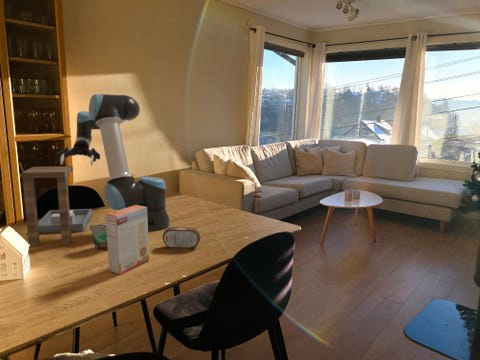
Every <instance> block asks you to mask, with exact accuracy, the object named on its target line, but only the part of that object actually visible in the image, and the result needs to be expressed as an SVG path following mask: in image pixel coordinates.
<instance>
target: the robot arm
mask: <svg viewBox="0 0 480 360" xmlns="http://www.w3.org/2000/svg"><path fill="white" fill-rule="evenodd" d="M89 99H90V100H89V103H88V111H82V110H81V111H78V112H77V114H76V138H75V142H74V143H73V147H71V148H70V147H69V146H66V147H65V148H63V149H62V150H60V151H58V152H56V153H55V155H56V158H57V159H58V160H59V161H60V166H61V165H63V164H64V161H65V159H66V158H69V157H72V156H74V157H75V156H78V155H79V156H85V157H88V158H90V166H93V165H94V163H95V162H96V161H97V160H101V154H100V153H99V152H98V151H97V150H96V149H95V147H92V148H91V149H90V146H91V142H92V141H93V135H92V131H93V130H99V131H100V135H101V139H102V145H103V149H104V156H105V160H106V161H105V162H106V164H107V169H108V170H107V171H108V174H109V178H108V180H107V181H106V184H105V185H104V187H103V191H104V193H103V194H104V198H105V202H106V203H107V205H108V207H109V208H110V209H111V210H114V211H118V210H121V209H124V208H127V207H131V206H134V205H140V206H144V207H147V221H148V231H159V230H164V229H168V228H169V226H170V224H171V223H170V221H171V220H170V217H169V215H168V213H167V209H166V208H167V206H166V204H167V203H166V202H167V201H166V190H167V188H166V182H165V180H164V179H163V178H160V177H155V176H140V177H139V179H138V181H136V180H135V177H134V176H133V175H132V174H131V173H130V169H129V165H128V159H127V155H126V150H125V146H124V145H125V144H124V141H123V136H122V131H121V125H122V123H124V122H126V121H128V122H129V121H132V120H135V119H136V118H138V116H139V115H140V110H141V108H140V104H139V103H138V102H137V100H136V99H135V98H133V97H132V96H129V95H127V94H103V93H101V94H99V93H95V94H93V95H92V96H91V97H90V98H89Z"/></svg>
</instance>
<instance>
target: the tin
mask: <svg viewBox="0 0 480 360" xmlns="http://www.w3.org/2000/svg"><path fill="white" fill-rule="evenodd" d="M200 240H201V234H200V232H199V231H198V230H197V229H196V228H194V227H183V226H171V227H167V228H165V230H164V232H163V235H162V241H163V243H164V245H165V246H166V247H168V248H171V249H193V248H196V247H197V246H198V245H199V244H200V243H199V242H200Z"/></svg>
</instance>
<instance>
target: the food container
mask: <svg viewBox="0 0 480 360" xmlns="http://www.w3.org/2000/svg"><path fill="white" fill-rule="evenodd" d="M89 230H90V231H91V234H92V240H93V246H94V248H95V249H96V250H99V251H108V245H107V230H106V222H105V223H102V224H97V225H93V223H90V225H89Z"/></svg>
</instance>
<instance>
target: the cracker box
mask: <svg viewBox="0 0 480 360" xmlns="http://www.w3.org/2000/svg"><path fill="white" fill-rule="evenodd" d="M105 223H106V230H107V245H108V250H107V257H108V258H107V259H108V271H109V272H111V273H114V274H117V275H119V276H121V275H123V274H125V273H126V272H128V271H130V270H132V269H135V268H136V267H138V266H141V265H143V264H145V263H146V262H149V260H150V253H149V251H150V250H149V230H148V221H147V207H144V206H140V205H134V206H131V207H127V208H124V209H121V210H114V211H111V212H108V213H105Z"/></svg>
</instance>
